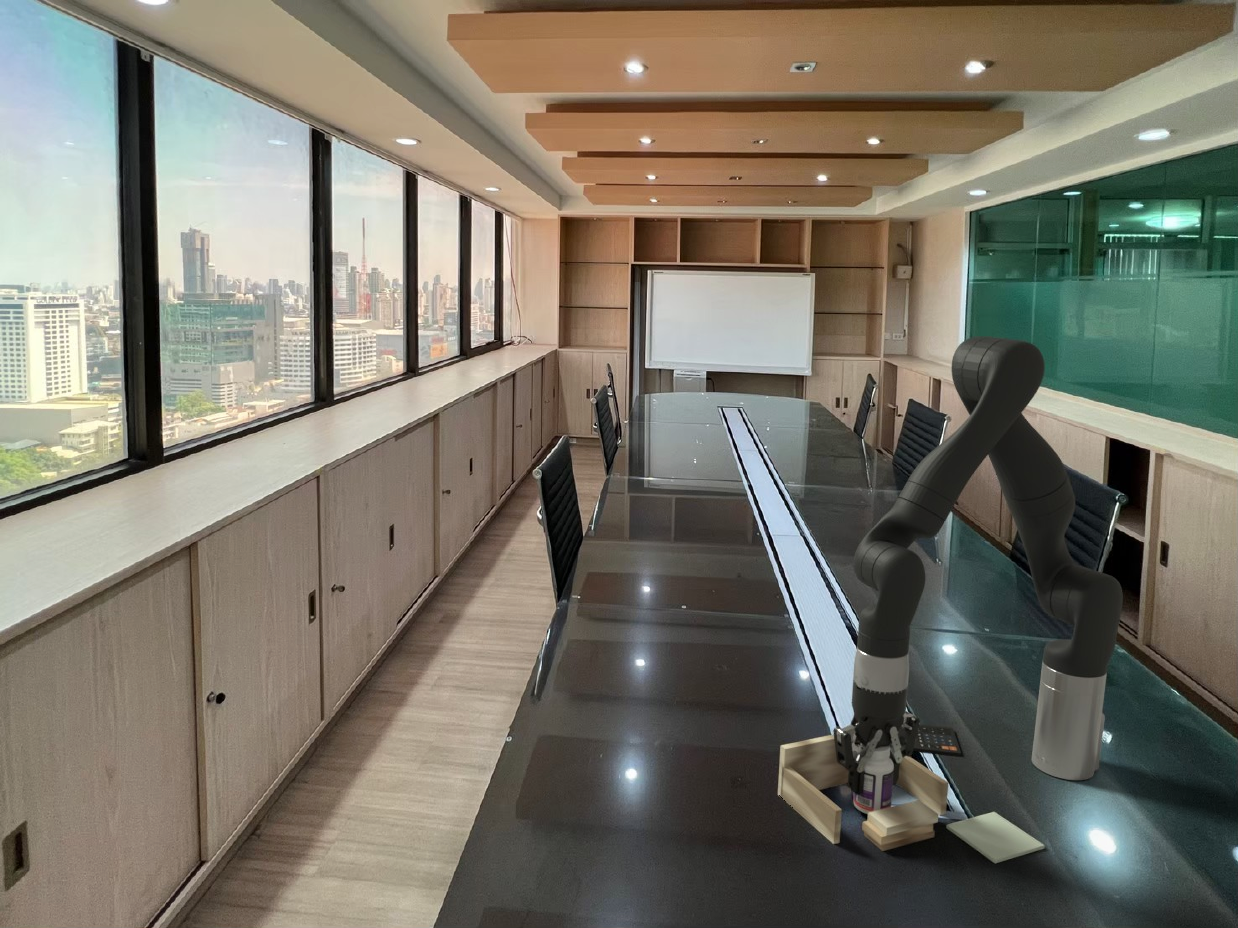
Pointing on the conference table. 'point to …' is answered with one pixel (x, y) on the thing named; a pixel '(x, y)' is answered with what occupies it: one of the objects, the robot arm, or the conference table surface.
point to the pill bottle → (876, 782)
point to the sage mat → (995, 837)
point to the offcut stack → (900, 825)
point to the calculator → (936, 740)
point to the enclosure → (818, 769)
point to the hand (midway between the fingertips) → (872, 787)
